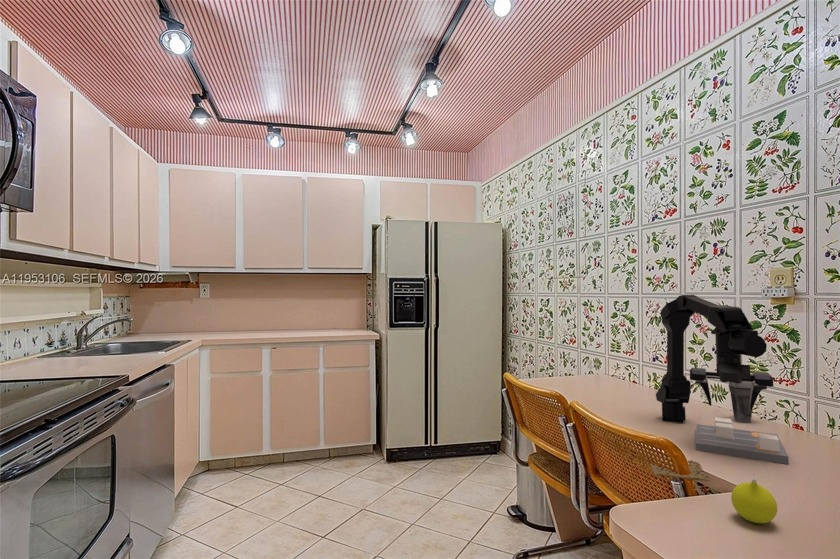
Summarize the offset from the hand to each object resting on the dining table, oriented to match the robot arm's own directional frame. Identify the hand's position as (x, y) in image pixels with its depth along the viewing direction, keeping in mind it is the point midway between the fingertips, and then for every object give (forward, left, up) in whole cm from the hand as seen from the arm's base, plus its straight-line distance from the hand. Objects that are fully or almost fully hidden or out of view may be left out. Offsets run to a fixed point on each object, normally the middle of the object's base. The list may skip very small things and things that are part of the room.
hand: (730, 407), depth 121 cm
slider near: (+8, -1, -10) cm, 12 cm away
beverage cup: (+5, +34, -12) cm, 37 cm away
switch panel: (+2, +5, -12) cm, 13 cm away
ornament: (+2, -43, -12) cm, 44 cm away
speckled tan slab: (-12, -22, -13) cm, 28 cm away
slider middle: (-1, +5, -10) cm, 11 cm away
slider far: (-1, +11, -10) cm, 15 cm away
